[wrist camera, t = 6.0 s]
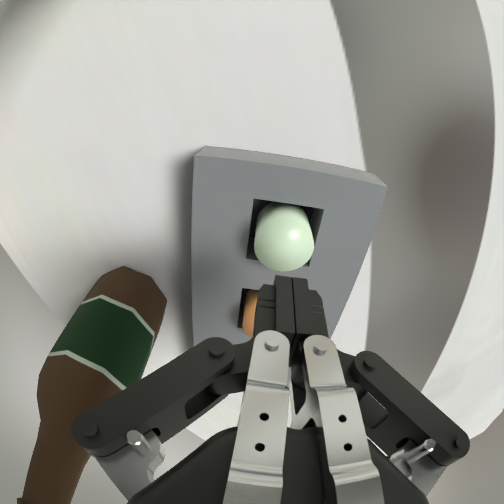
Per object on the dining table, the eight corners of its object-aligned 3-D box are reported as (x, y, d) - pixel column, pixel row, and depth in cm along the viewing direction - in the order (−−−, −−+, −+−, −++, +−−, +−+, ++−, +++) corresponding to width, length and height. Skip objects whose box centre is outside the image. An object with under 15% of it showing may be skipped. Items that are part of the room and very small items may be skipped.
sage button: (260, 196, 18) (258, 215, 16) (313, 204, 18) (320, 224, 16) (253, 243, 20) (250, 267, 18) (302, 250, 20) (306, 274, 18)
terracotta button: (248, 280, 22) (245, 306, 19) (293, 286, 22) (295, 312, 20) (243, 312, 24) (240, 338, 21) (284, 317, 24) (285, 343, 21)
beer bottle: (176, 326, 28) (114, 551, 8) (114, 319, 28) (35, 508, 8) (160, 265, 24) (49, 545, 3) (91, 262, 24) (-32, 476, 4)
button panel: (205, 146, 18) (194, 155, 16) (373, 173, 18) (388, 187, 16) (200, 353, 30) (195, 374, 28) (303, 366, 30) (305, 387, 28)
